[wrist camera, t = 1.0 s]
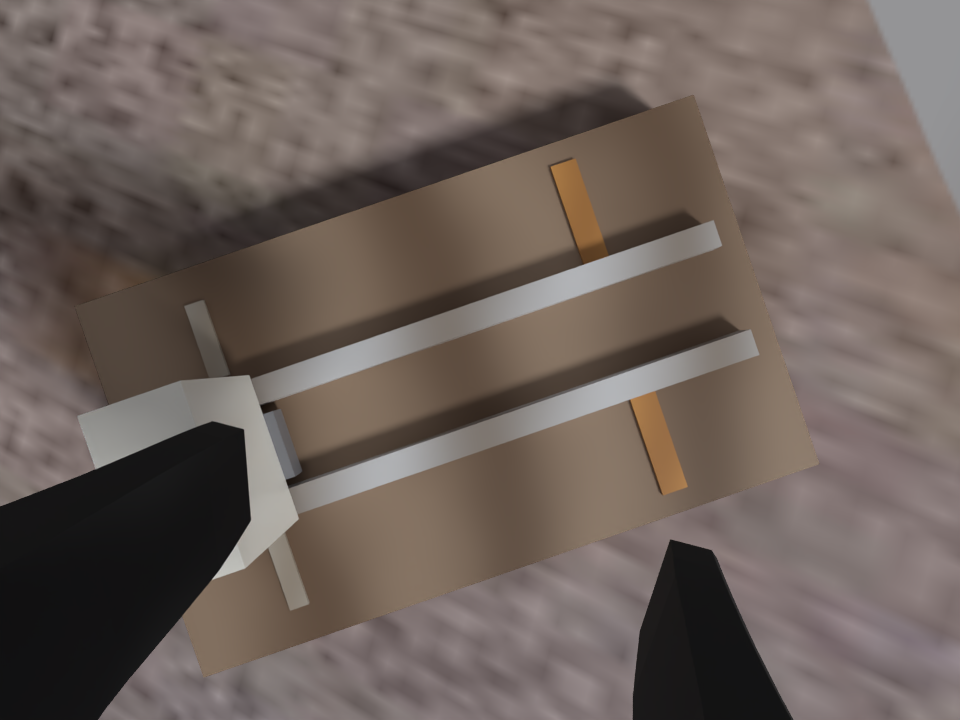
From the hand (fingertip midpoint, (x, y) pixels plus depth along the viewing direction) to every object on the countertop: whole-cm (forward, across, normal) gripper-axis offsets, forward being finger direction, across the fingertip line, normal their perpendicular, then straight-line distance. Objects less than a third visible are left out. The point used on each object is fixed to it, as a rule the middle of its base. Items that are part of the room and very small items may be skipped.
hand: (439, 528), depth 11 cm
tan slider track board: (+11, +3, +4) cm, 12 cm away
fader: (+6, +8, +5) cm, 11 cm away
